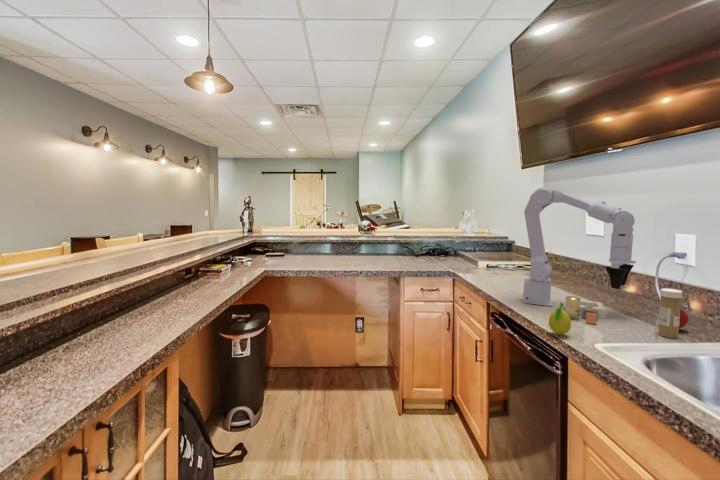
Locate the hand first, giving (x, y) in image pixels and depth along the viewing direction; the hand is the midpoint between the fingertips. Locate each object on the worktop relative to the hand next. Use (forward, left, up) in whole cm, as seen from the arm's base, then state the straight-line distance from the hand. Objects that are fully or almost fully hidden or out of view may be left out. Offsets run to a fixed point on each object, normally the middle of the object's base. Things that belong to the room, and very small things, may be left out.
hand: (618, 286), depth 113 cm
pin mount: (-8, -10, -10) cm, 16 cm away
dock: (-8, -2, -10) cm, 13 cm away
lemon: (-17, -30, -10) cm, 36 cm away
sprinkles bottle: (+10, -16, -10) cm, 21 cm away
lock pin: (-8, -12, -10) cm, 18 cm away
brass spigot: (-13, -11, -10) cm, 20 cm away
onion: (+13, -9, -10) cm, 19 cm away
